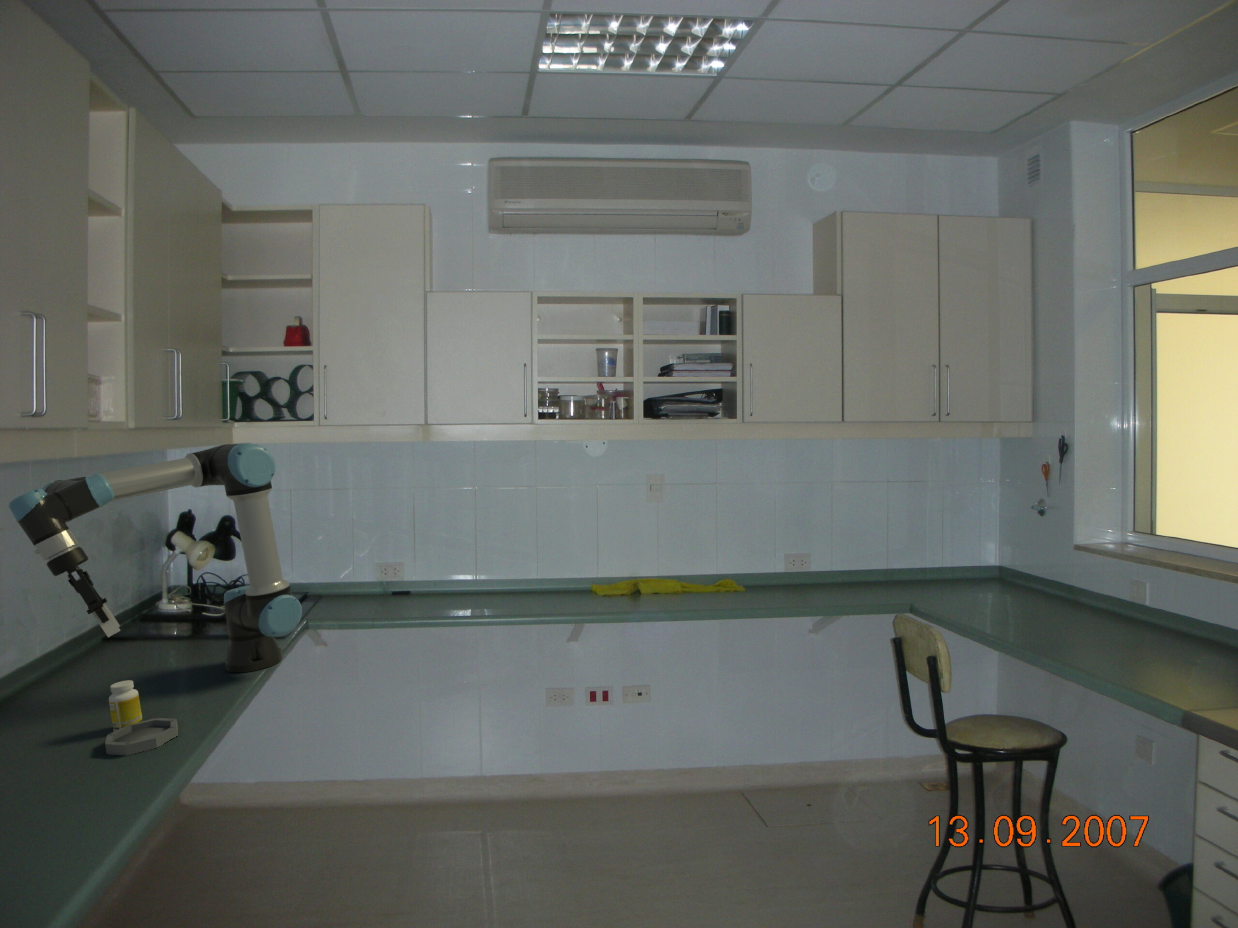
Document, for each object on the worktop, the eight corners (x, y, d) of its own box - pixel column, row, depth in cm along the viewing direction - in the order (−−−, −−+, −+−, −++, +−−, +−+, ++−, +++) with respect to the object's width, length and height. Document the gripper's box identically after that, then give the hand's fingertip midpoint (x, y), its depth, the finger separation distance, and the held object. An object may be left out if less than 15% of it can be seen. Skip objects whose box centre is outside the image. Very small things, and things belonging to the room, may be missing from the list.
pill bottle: (148, 721, 199) (142, 677, 198) (134, 732, 193) (127, 686, 192) (122, 723, 199) (116, 680, 198) (107, 734, 193) (101, 689, 191)
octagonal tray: (144, 726, 196) (143, 717, 195) (191, 729, 191) (190, 719, 191) (92, 753, 182) (90, 742, 182) (141, 756, 178) (140, 745, 178)
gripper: (48, 561, 195) (98, 636, 199) (40, 562, 174) (96, 645, 178) (81, 545, 199) (129, 618, 203) (77, 544, 178) (131, 626, 182)
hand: (114, 631), depth 190 cm, fingers open, 13 cm apart
